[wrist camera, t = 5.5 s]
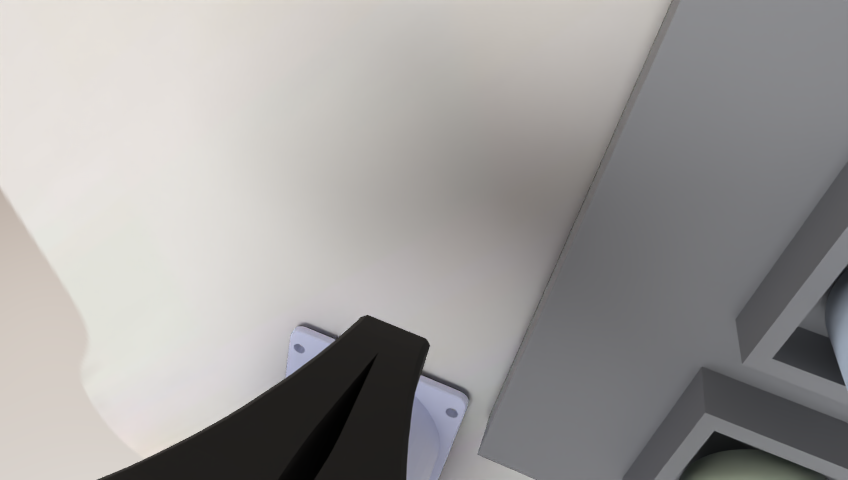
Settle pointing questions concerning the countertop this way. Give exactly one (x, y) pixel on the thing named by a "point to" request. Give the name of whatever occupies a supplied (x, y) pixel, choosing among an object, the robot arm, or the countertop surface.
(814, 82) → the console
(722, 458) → the button sage
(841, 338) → the button slate
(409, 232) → the countertop surface
